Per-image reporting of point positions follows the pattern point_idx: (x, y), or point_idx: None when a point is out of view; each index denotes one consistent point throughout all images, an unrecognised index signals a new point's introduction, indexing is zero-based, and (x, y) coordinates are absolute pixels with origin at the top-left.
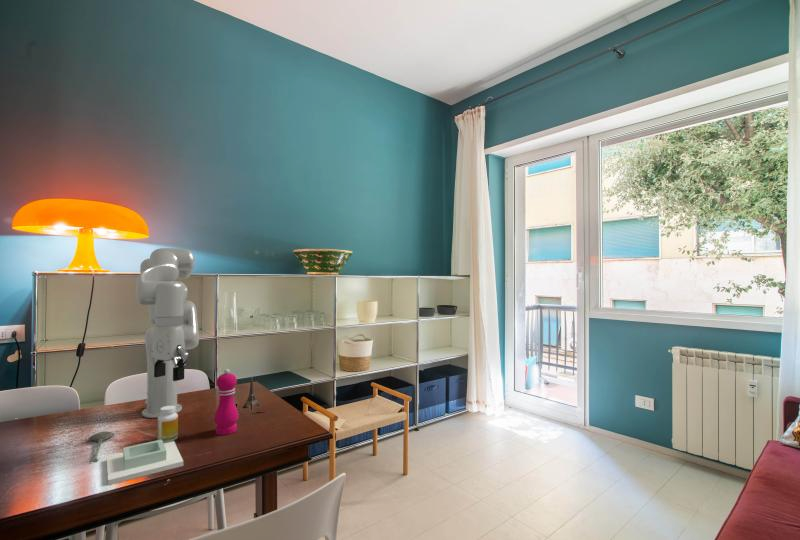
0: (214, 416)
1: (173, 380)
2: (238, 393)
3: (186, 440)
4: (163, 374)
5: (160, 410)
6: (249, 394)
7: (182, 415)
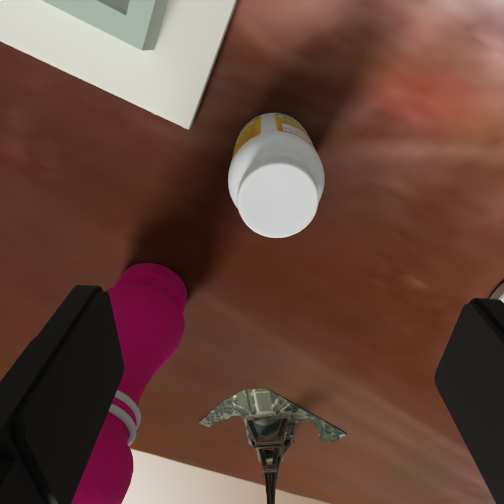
0: (154, 302)
1: (86, 286)
2: (415, 481)
3: (196, 179)
4: (444, 374)
5: (296, 163)
6: (273, 471)
7: (439, 318)
